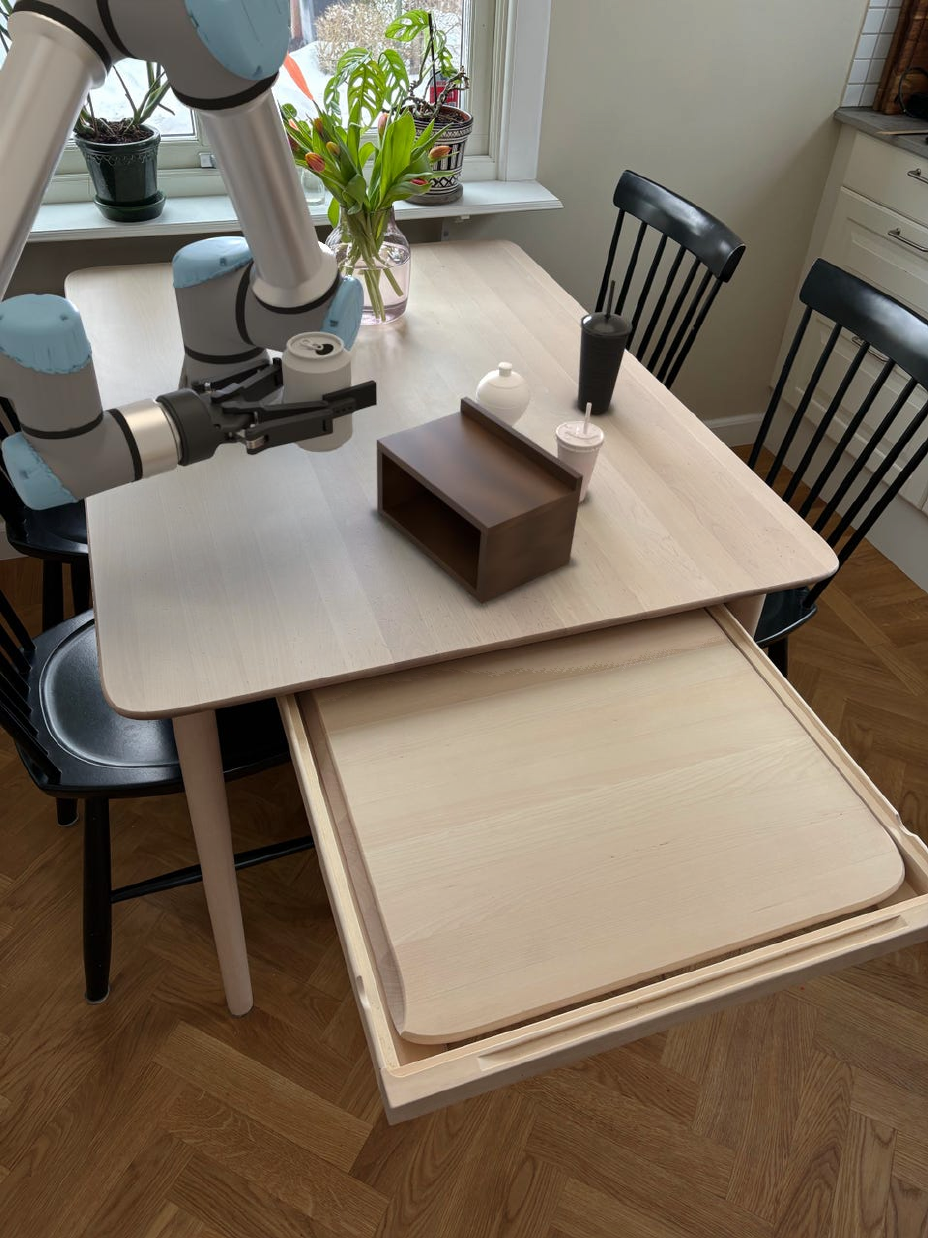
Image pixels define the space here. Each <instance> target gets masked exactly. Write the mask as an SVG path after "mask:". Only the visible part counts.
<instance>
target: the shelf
mask: <svg viewBox="0 0 928 1238" xmlns="http://www.w3.org/2000/svg"><path fill="white" fill-rule="evenodd" d="M582 480H583V475H581V474H580V473H578V472H577V471H575V470H574V469H572V468H571V467H570V466H568V465H567V464H565V463H564V462H562V461H561V460H559V459H558V458H557V457H556V456H555V455H554V454H552V453H551V452H549V451H548V450H546V449H545V448H543V447H542V446H540V445H539V444H537V443H535V442H534V441H533V440H531V439H530V438H528V437H527V436H526V435H525V434H522V433H521V432H519V431H518V430H517V429H515V428H514V427H513V426H512V427H511V426H509V425H508V424H506V423H505V422H503V421H502V420H500V419H499V418H498V417H496V416H495V415H493V414H492V413H490V412H489V411H487V410H486V409H484V408H483V407H481V406H480V405H478V404H477V401H474V400H472V399H471V398H470V397H469V396H464V397H461V398H460V409H459V411H456V412H453V413H451V414H448V415H445V416H442V417H438V418H436V419H433V420H430V421H427V422H424V423H421V424H419V425H416V426H413V427H410V428H407V429H404V430H401V431H398V432H395V433H392V434H390V435H386V436H384V437H380V438H378V439H376V509H377V510H376V511H377V514H378V515H379V516H380V517H382V519H384V520H385V521H386V522H387V523H388V524H389V525H391V526H392V527H393V528H394V529H395V530H396V531H398V532H399V533H400V534H401V535H402V536H403V537H404V538H405V539H407V540H408V541H409V542H410V543H411V544H413V545H414V546H415V547H416V548H417V549H419V551H421V552H422V553H423V554H424V555H426V557H427V558H429V559H430V560H431V561H432V562H433V563H435V565H437V566H438V567H439V568H441V569H442V570H443V571H444V572H445V573H446V574H447V575H448V576H449V577H451V578H452V579H453V580H454V581H455V582H457V583H458V585H460V586H461V587H462V588H463V589H464V590H466V591H467V592H468V593H469V594H470V595H472V596H473V598H475V599H476V600H477V601H478V602H479V603H481V604H485V603H487V602H489V601H490V600H493V599H495V598H498V597H499V596H502V595H504V594H506V593H508V592H510V591H512V590H514V589H516V588H518V587H520V586H523V585H524V584H527V583H529V582H531V581H533V580H535V579H538V578H539V577H541V576H543V575H546V574H548V573H551V572H552V571H554V570H556V569H558V568H560V567H563V566H564V565H567V564H569V563H570V561H571V556H572V550H573V549H572V548H573V544H574V543H573V542H574V536H575V531H576V525H577V524H576V523H577V518H578V512H579V505H580V502H579V499H580V492H581V487H582Z"/></svg>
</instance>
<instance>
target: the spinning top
mask: <svg viewBox="0 0 928 1238" xmlns="http://www.w3.org/2000/svg"><path fill="white" fill-rule="evenodd" d="M530 400H531V392H530V388H529V386H528V384H527V382H526V381H525V379H524V378H523V377H522V375H520V374H519V373H517V372H515V371H513V365H512V364H511V363H510V362H507V361H506V362H500V363H499V364H498V369H497V370H493V371H490V372H489V373H487V374H486V376H484V377H483V378H482V379H481V380H480V382H479V383H478V385H477V388H476V391H475V402H476V403H477V404H478V405H480V406H481V407H483V408H484V409H486V410H487V411H489V412H490V413H492V414H493V415H495V416H496V417H498V418H499V419H500V420H502V421H503V422H505V423H506V424H508V425H509V426H511V427H512V428H513V427H514V425H515V424H516V423H517V422H519V420H520V419H521V418H522V417H523V415H524V414H525V412H526V410H527V409H528V407H529V404H530Z"/></svg>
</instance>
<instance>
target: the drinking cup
mask: <svg viewBox="0 0 928 1238" xmlns="http://www.w3.org/2000/svg"><path fill="white" fill-rule="evenodd" d="M615 287H616V280H614V279H611V280H610V282H609V290H608V297H607V302H606V308H605V311H599V312H593V313H588V314H585V315H584V316H582V317H581V319H579V327H580V329H581V330H580V346H579V347H580V348H579V367H578V389H577V408H578V410H580V411H581V412H583V413H584V414H586V408H587V403H591V404H592V405H591V411H590V415H598V416H599V415H603V414H605V413H607V412H608V410H609V409H610V405H611V401H612V397H613V394H614V390H615V386H616V383H617V379H618V376H619V372H620V368H621V364H622V361H623V357H624V354H625V350H626V348H627V344H628V340H629V337H630V334H631V333H632V331H633V324H632V322H631V321H630V320H628V319H627V318H625V317H624V316H622V315H619V314H616V313H613V312H611V311H612V307H613V306H612V305H613V299H614V292H615Z"/></svg>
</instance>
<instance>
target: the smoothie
mask: <svg viewBox="0 0 928 1238" xmlns="http://www.w3.org/2000/svg"><path fill="white" fill-rule="evenodd" d="M591 405H592V404H591V403H587V408H586V413H585V415H584V416H585V417H584V421H579V420H575V421H573V420H572V421H567V422H564V423H561V424H560V425H559V426H557V428H556V430H555V431H556V432H555V435H554V440H555V442H556V443H557V447H556V450H557V451H556V452H557V457H556V458H558V459H559V460H561V461H562V462H564V463H565V464H567V465H568V466H570V467H571V468H572V469H574V470H575V471H577V472H578V473H580V474H581V475H583V480H582V487H581V492H580V499H579V503H581V502H582V501H584V499H585V497H586V494H587V491H588V488H589V484H590V482H591V478H592V475H593V471H594V469H595V465H596V463H597V459H598V456H599V453H600V450H601V448H603V446H604V444H605V432H604V431H603V430H602V429H601V427H599V426H597V425H595V424H593V423H590V417H591V414H590V411H591Z"/></svg>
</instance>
